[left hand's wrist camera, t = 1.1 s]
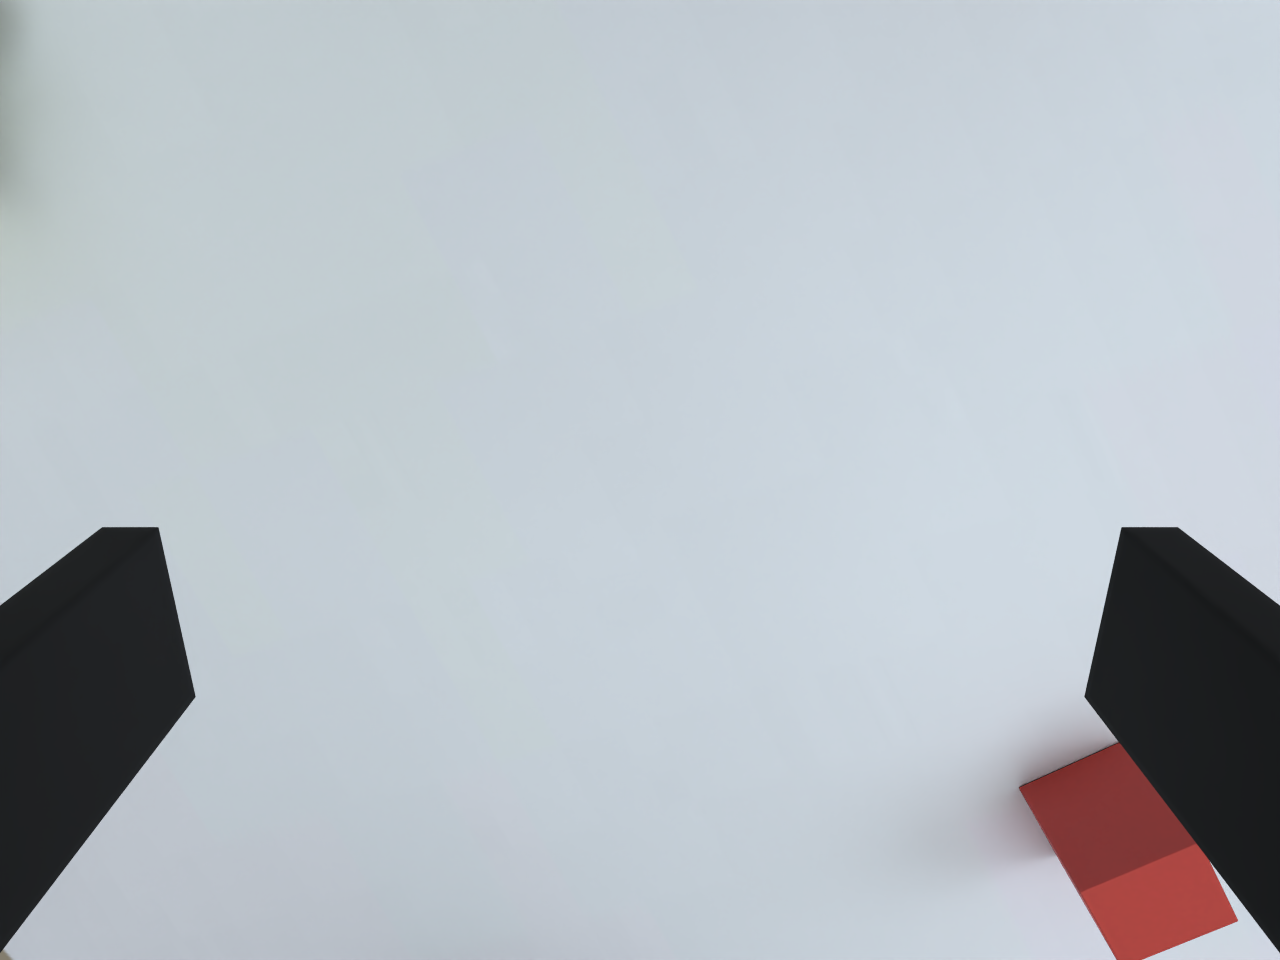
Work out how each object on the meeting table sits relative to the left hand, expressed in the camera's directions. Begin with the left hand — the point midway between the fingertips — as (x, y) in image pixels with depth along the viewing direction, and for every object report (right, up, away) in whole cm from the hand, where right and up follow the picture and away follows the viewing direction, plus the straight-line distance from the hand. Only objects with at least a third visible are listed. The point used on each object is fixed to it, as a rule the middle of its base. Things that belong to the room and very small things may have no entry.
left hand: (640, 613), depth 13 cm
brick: (+24, -15, +35) cm, 45 cm away
